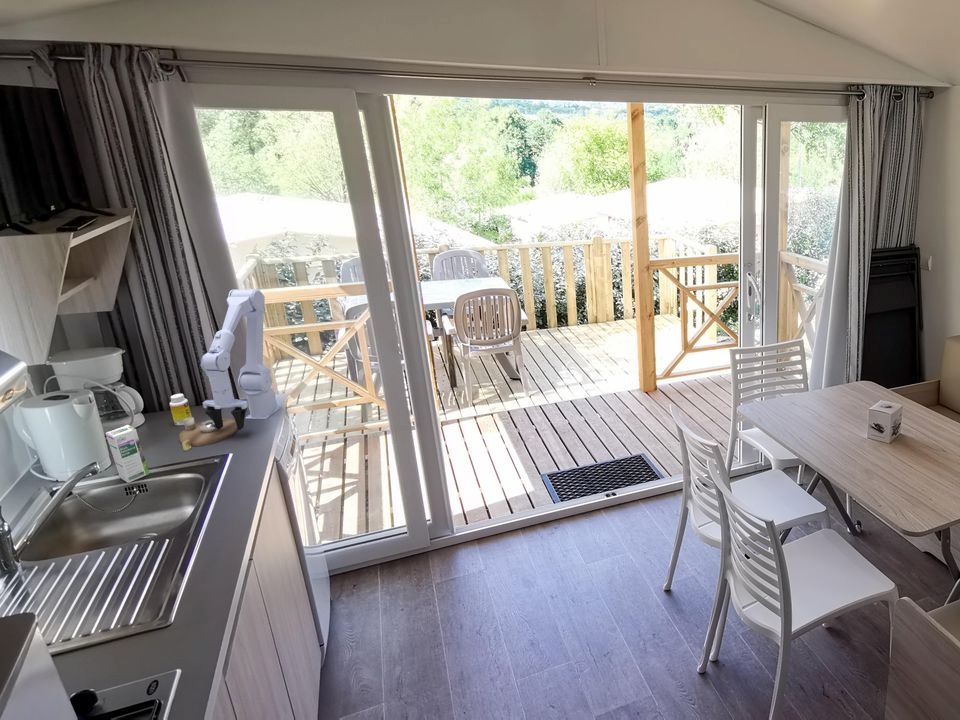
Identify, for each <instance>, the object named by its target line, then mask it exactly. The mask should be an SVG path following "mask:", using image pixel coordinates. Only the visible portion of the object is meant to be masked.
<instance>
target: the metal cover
mask: <svg viewBox="0 0 960 720" xmlns="http://www.w3.org/2000/svg"><path fill="white" fill-rule="evenodd" d="M208 420H209V421H206V420H205V421H206V422H203V423H201V424H200V425H199V427H200V431H201V433H204V434H206V433H212V432H215V431H217V430H219V429H217V427H216V425H215V424H214V422H213V421H212V420H210V419H208Z"/></svg>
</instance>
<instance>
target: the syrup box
mask: <svg viewBox="0 0 960 720" xmlns="http://www.w3.org/2000/svg"><path fill="white" fill-rule="evenodd" d="M138 435H139V434H138V432H137V428H135V427H133V426H131V425H129V424H126V425H124V426H121V427H119V428H115V429H113V430H110V431H106V432H105V436H106V439H107V442H108V446H109V449H110V452H111V454H112V457H113V460H114V463H115V466H116V469H117V473H118V475H119V478H120V479H122V480H123V481H124V482H126V483H127V484H129V483H132V482H134V481H136V480H139V479H142V478H143V477H145V476H148V475H150V472H149V468H148V467H149V466H148V464H147V461H146V458H145V455H144V451H143V448H142V445H141V442H140V439H139V436H138Z"/></svg>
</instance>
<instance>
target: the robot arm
mask: <svg viewBox="0 0 960 720" xmlns="http://www.w3.org/2000/svg"><path fill="white" fill-rule="evenodd" d="M226 304H227V306H228V307H227V311H226V314H225V317H224V321H223V324H222V327H221V329H220V330H218V331H216V333H215V335H214V337H213V340H212V342H211V344H210V347H209V349H208V352H206V353H204V355H203V356H202V357H201V360H200V362H201V363H200V367H201V369H202V370H203V371H204V372H205V375H206V377H208V380H209V386H210V390H211V394H212V399H209V400H208V399H206V400H205V401H203V402H202V406H203V408H204V409H206V410H204V412H205V413H204V414H205V415H207V416H208V417H209V418H210V419H212V421H213V422H214V424H215V425H216V427H217V429H220V428H222V427H223V420H222V418H223V414H222V409H223V408H225V409H227V408H228V409H229V408H231V409H233V410H231V411H230V413H231V415H232V416H233V419H234V420H235V421H236V425H237V431H238V430H239V431H241V430H242V429H244V427H245V420H246V419H247V420H250V419H251V420H252V419H253V420H266V419H268V418H269V417H271V416H272V415H273V414H275V413H276V412H277V411H279V410H280V408H281V407H280V406H278V403H277V399H276V394H275V393H276V392H275V391H274V389H273V388H272V385H273V378H272V374H271V369H270V368H269V367H267V366H266V365H265V364H264V314H265V305H266V304H265V295H264V294H263V293H262V291H261V290H260V289H258V288H254V289H236V288H235V289H234V288H233V289H231V290H230V291H229V292H228V297H227V298H226ZM242 316H244V317H245V318H246V339H245V340H246V341H245V342H246V344H245V345H246V346H245V347H246V348H245V349H246V350H245V351H246V354H245V355H246V357H245V364H244V365H243V366H242V367H241V368H240V369H239V376H238V379H237V385H238V388H239V389H240V390H242V391H243V394H245V395H246V400H242V399H236V398H235V396H234V393H233V387H232V383H231V379H230V375H229V370H228V369H229V367H230V366H231V351H232V347H233V345H234V342H235V340H236V337H235V335H234V332H235V330H236V328H237V326H238V324H239V323H240V320H241V318H242ZM248 409H249V414H248V415H246V412H247V411H248ZM245 416H246V417H245Z"/></svg>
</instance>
